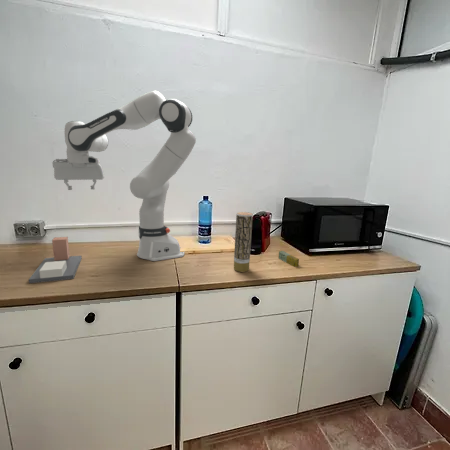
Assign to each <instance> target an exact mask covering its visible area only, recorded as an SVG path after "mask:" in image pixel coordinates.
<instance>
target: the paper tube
mask: <svg viewBox="0 0 450 450" xmlns="http://www.w3.org/2000/svg"><path fill="white" fill-rule="evenodd" d="M235 216H236V217H235V234H234V250H233V251H234V253H233V254H234V255H233V269H234V270H235V271H236V272H240V273H246V272H248V271H249V269H250V261H251V260H250V259H251V247H252V246H251V245H252V230H253V218H254V215H253V212H252V213H251V212H246V211H238V212H236V215H235Z"/></svg>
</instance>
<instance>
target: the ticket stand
mask: <svg viewBox="0 0 450 450" xmlns="http://www.w3.org/2000/svg"><path fill="white" fill-rule="evenodd" d="M81 261H82V255H70V257H69V258H68V260H55V261H54V257H45V258H44V259H43V260H42V261H41V263H40V264H39V266H38V267H37V268H36V270H35V271H34V272H33V273H32V274H31V276H30V277H29V278H28V283H29V284H36V283H44V282H45V283H47V282H57V281H65V280H74V279H75V276H76V274H77V271H78V269H79V267H80V264H81Z"/></svg>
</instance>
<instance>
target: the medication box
mask: <svg viewBox="0 0 450 450" xmlns="http://www.w3.org/2000/svg"><path fill="white" fill-rule="evenodd" d="M278 259H279V260H280V261H283V262H284V263H286V264H288V265H290V266H292V267H293V268H296V267H297V268H298V267H299V264H300V263H299V262H300V258H298V257H296V256H295V255H292V254H290V253H288V252H286V251H285V250H279V251H278Z"/></svg>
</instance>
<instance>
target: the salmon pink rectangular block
mask: <svg viewBox="0 0 450 450" xmlns="http://www.w3.org/2000/svg"><path fill="white" fill-rule="evenodd" d="M68 238H69V237H68V236H60V237H59V236H58V237H53V239H52V240H51V241H52V250H53V258H54V261H55V260H68V258H69V257H70V256H71V255H70V248H69V247H70V246H69V239H68Z"/></svg>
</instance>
